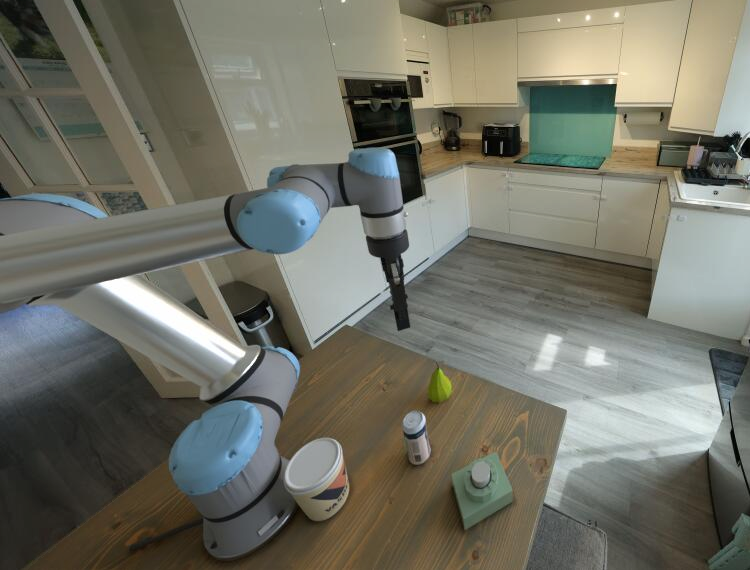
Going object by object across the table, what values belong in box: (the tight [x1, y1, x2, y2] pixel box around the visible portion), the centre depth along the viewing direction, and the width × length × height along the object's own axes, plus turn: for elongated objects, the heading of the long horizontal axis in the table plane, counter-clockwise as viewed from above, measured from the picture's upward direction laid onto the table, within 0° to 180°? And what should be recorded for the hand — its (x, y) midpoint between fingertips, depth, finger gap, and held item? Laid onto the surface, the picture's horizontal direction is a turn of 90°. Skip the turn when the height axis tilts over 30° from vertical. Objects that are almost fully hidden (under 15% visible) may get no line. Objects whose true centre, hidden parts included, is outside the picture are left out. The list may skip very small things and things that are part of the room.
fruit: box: [426, 361, 453, 403], centre depth 80 cm, size 6×6×12 cm
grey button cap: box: [471, 462, 490, 488], centre depth 60 cm, size 4×4×2 cm
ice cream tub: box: [284, 437, 350, 522], centre depth 60 cm, size 9×9×12 cm
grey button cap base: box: [450, 451, 514, 531], centre depth 62 cm, size 10×8×6 cm
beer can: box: [401, 410, 432, 465], centre depth 67 cm, size 5×5×12 cm
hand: (403, 327), depth 69 cm, fingers closed
